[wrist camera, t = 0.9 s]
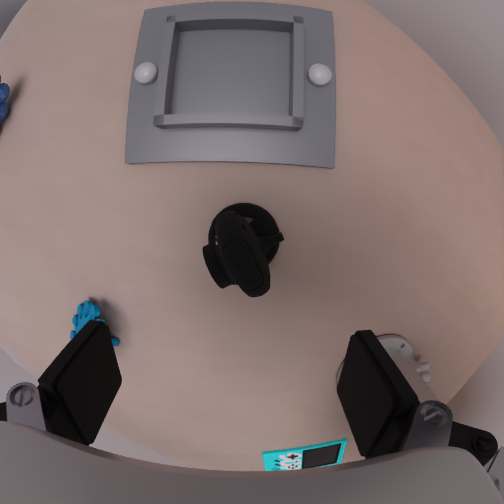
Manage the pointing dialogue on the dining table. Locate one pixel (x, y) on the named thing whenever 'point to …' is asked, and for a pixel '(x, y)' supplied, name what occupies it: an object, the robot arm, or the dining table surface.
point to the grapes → (3, 99)
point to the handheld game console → (305, 456)
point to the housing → (233, 85)
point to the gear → (87, 318)
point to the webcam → (242, 248)
